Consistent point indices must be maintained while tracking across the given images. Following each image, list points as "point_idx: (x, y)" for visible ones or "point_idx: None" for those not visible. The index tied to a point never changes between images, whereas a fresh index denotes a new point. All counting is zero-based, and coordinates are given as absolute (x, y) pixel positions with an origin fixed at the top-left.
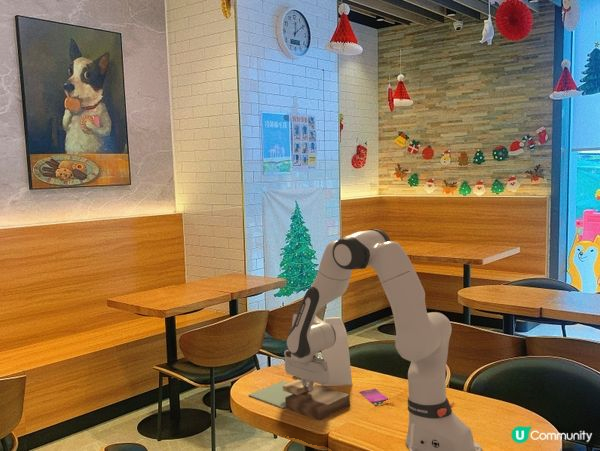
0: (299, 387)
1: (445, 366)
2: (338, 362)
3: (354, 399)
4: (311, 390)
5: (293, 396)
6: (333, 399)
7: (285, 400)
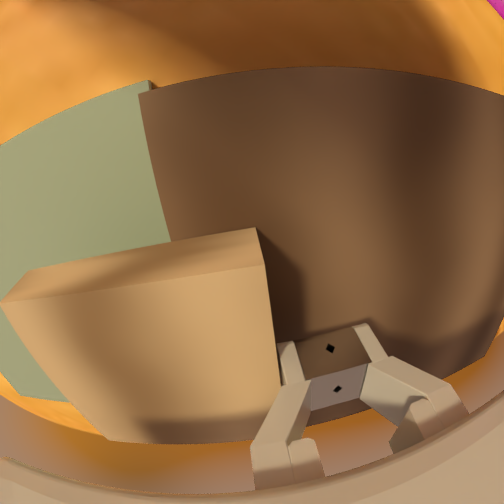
0: (249, 413)
1: None
2: None
3: (452, 11)
4: (364, 328)
5: None
6: None
7: None
